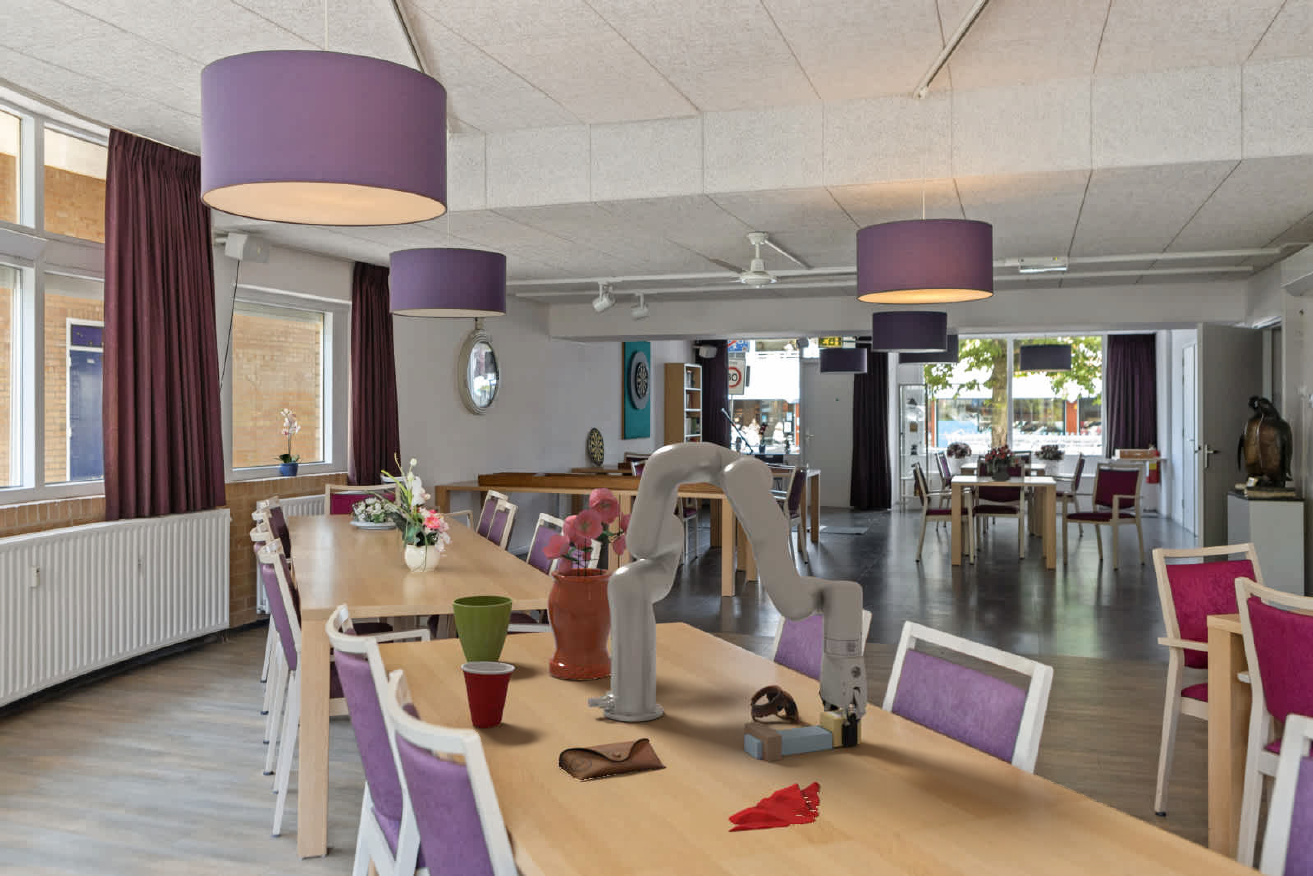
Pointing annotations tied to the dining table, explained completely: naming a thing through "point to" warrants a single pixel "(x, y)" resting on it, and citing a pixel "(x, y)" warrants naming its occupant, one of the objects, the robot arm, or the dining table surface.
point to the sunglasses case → (609, 759)
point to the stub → (836, 725)
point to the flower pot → (482, 626)
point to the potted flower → (583, 591)
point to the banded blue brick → (784, 741)
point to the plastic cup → (486, 691)
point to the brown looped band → (773, 703)
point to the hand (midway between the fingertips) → (841, 739)
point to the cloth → (780, 809)
